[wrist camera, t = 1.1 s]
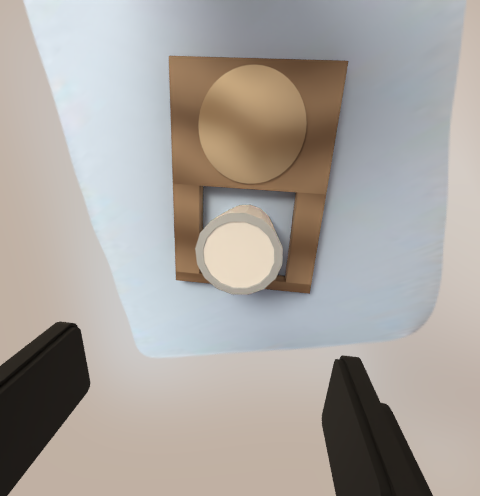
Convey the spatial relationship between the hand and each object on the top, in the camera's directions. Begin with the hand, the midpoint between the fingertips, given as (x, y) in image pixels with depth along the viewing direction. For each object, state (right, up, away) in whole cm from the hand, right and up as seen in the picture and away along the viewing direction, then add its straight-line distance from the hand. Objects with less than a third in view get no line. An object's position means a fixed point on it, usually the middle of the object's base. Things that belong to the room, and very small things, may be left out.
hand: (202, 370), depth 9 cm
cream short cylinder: (+2, +6, +17) cm, 18 cm away
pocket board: (+2, +10, +15) cm, 19 cm away
